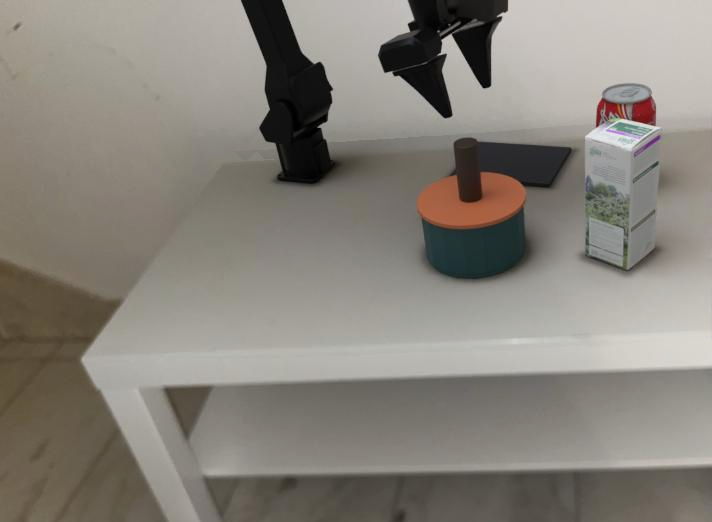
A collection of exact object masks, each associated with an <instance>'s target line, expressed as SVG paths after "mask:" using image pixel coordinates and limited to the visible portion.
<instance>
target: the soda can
mask: <svg viewBox="0 0 712 522" xmlns="http://www.w3.org/2000/svg"><path fill="white" fill-rule="evenodd" d="M652 94H653V91H652V89H651V87H649V86H647V85H645V84H641V83H635V82H634V83H633V82H624V83H617V84H613V85H610V86H608V87H606V88H605V89H604V90H602V92H601V98H600V100H599V102H598V104H597V106H596V114H595V128H597V127H598V126H600V125H601V124H603V123H605V122H606V121H609V120H610V119H612V118H615V117H616V118H621V119H625V120H630V121H634V122H639V123H643V124H647V125H651V126H656V127H657V104H656V101H655V99H654V98H653V96H652Z"/></svg>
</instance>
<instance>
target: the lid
mask: <svg viewBox="0 0 712 522" xmlns="http://www.w3.org/2000/svg"><path fill="white" fill-rule="evenodd" d="M452 145H453V153H454V163H455V169H456V173H457V175H454V176H450V175H449V176H447V177H444V178H441V179H438V180H437V181H435V182H433V183H431V184H430V185H428V186H427V187H426V188H424V189H423V190H422V191H421V192H420V194H419V195H418V197H417V199H416V210H417V213H418V214H419V216H420V217H422V218H423V219H424V220H426V221H427V222H429V223H431V224H433V225H436V226H440V227H444V228H450V229H474V228H481V227H486V226H490V225H494V224H497V223H500V222H502V221H505V220H507V219H509V218H510V217H512V216H514V215H515V214H516V213H518V212H519V211H520V210H521V209H522V207H523V206H524V207H525V204H526V201H527V190H526V188H525V187H524V185H522V184H521V183H520V182H519V181H517V180H515V179H514V178H512V177H509V176H506V175H502V174H497V173H490V172H480V161H479V150H478V139H477V138H474V137H471V136H469V137H468V136H467V137H461V138H457V139H456V140H455V141H454V142H453V143H452Z"/></svg>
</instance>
